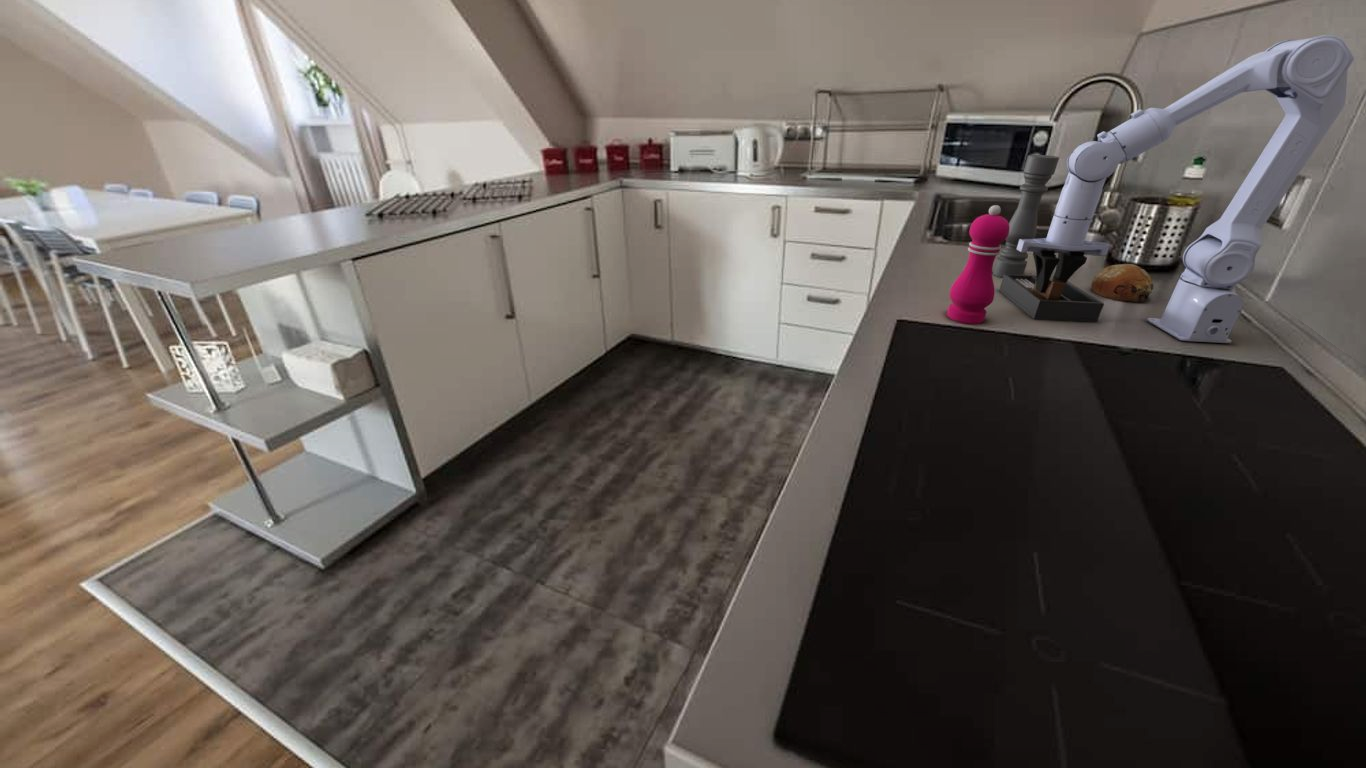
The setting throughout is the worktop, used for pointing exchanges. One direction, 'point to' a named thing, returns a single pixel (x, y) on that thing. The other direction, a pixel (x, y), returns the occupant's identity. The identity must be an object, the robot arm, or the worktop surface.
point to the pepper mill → (978, 269)
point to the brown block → (1051, 291)
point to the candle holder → (1025, 214)
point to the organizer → (1052, 301)
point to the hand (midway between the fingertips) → (1047, 291)
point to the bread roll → (1123, 283)
